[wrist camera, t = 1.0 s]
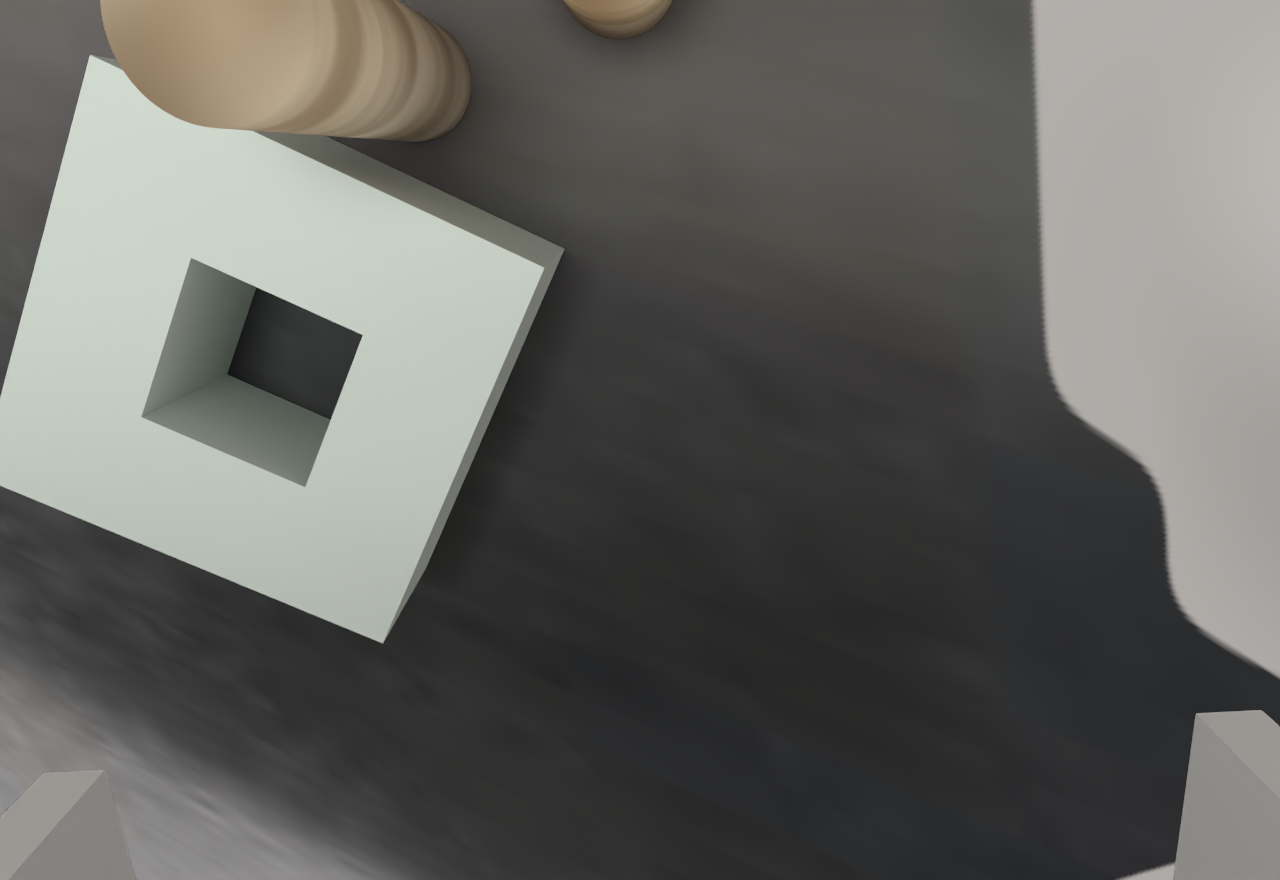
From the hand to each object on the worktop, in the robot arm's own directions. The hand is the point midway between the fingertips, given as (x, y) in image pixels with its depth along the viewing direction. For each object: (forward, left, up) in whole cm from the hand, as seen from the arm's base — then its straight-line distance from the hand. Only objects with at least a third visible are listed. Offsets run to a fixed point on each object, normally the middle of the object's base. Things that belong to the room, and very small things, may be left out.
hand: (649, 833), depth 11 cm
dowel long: (-12, +6, -24) cm, 28 cm away
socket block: (-12, -4, -24) cm, 27 cm away
